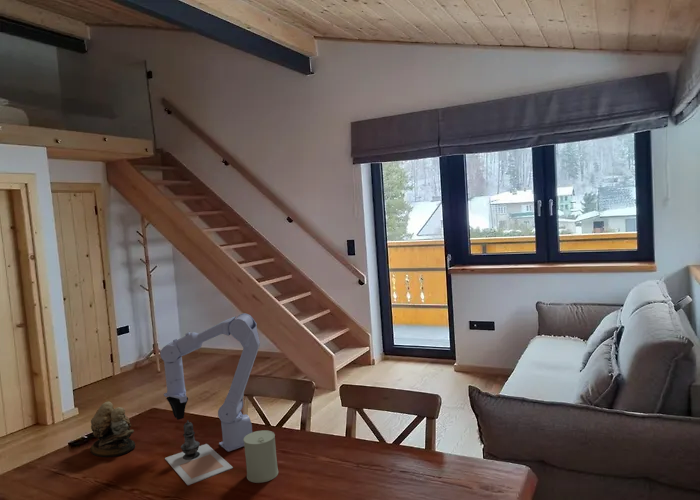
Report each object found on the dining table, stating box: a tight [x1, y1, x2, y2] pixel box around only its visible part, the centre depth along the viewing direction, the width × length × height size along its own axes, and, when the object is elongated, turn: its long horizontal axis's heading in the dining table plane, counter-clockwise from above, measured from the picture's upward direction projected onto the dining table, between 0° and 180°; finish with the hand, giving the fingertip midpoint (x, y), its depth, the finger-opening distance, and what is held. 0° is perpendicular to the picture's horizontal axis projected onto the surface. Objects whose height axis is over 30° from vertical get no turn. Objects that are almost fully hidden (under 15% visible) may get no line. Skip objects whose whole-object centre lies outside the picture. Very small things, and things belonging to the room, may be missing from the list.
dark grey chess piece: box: [180, 419, 201, 460], centre depth 166 cm, size 6×6×12 cm
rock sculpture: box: [89, 401, 136, 458], centre depth 177 cm, size 18×12×17 cm, turn 67°
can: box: [243, 429, 279, 484], centre depth 151 cm, size 9×9×12 cm
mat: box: [164, 443, 234, 486], centre depth 162 cm, size 14×22×1 cm, turn 36°
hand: (179, 417), depth 173 cm, fingers closed
